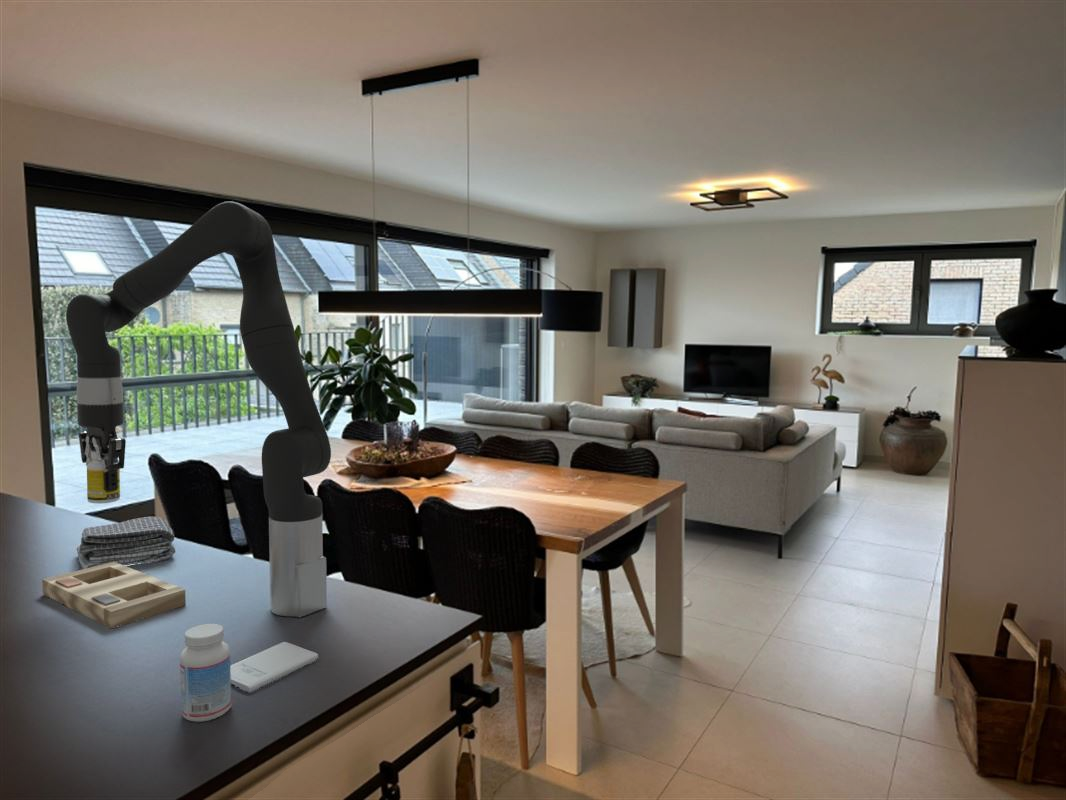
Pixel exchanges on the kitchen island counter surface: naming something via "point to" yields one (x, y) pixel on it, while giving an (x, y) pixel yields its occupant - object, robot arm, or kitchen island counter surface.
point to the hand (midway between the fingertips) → (103, 488)
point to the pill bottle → (205, 674)
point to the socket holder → (114, 593)
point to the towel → (127, 542)
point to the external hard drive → (269, 665)
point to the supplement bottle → (99, 483)
